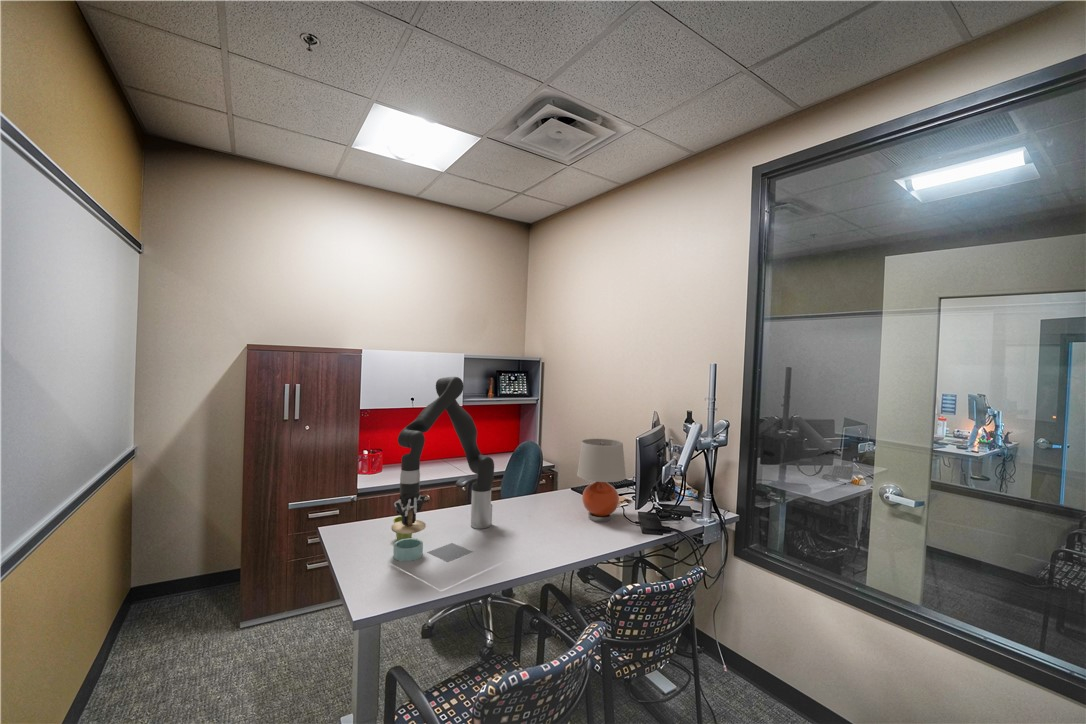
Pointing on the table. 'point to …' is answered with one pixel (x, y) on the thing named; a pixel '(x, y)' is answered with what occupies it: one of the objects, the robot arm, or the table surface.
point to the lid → (411, 526)
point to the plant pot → (399, 535)
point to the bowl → (408, 549)
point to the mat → (449, 552)
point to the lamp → (601, 476)
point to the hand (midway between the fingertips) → (408, 523)
